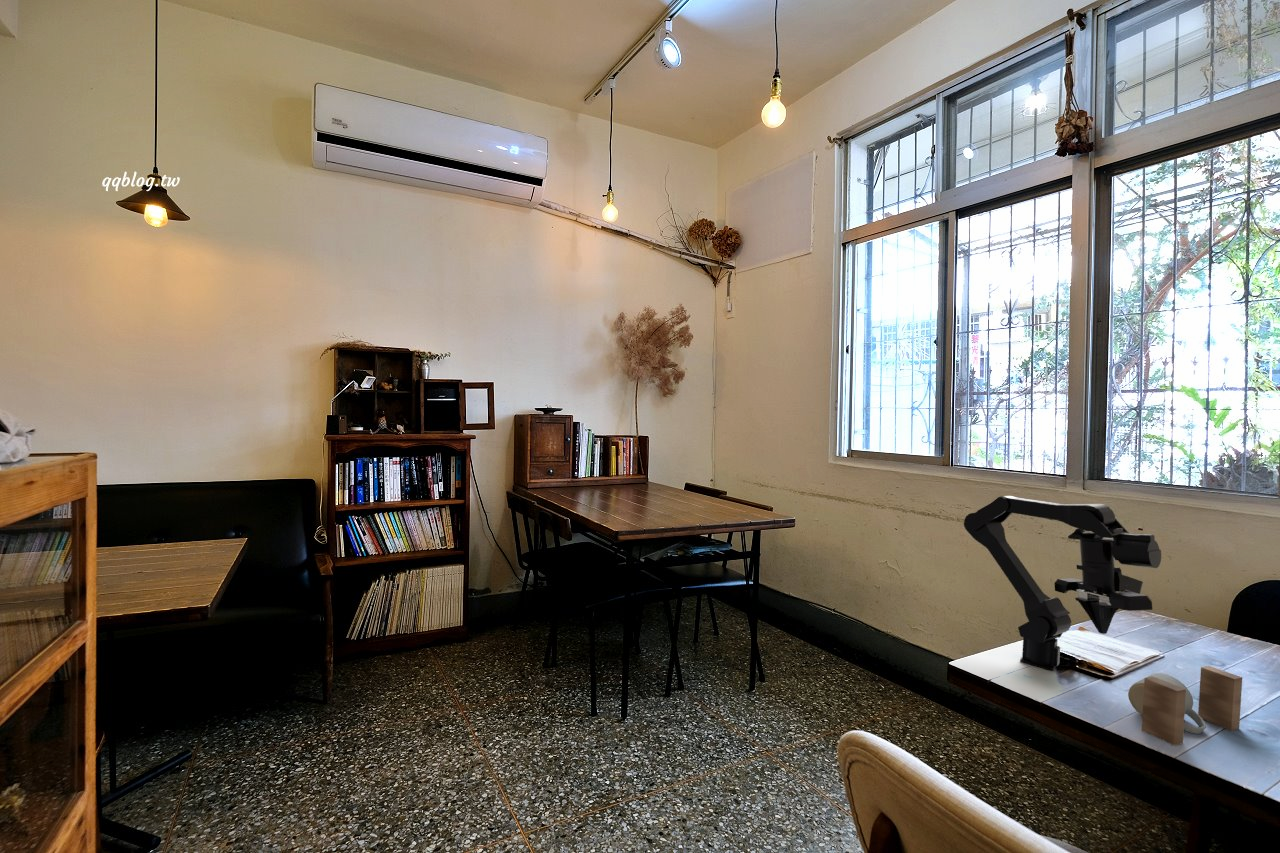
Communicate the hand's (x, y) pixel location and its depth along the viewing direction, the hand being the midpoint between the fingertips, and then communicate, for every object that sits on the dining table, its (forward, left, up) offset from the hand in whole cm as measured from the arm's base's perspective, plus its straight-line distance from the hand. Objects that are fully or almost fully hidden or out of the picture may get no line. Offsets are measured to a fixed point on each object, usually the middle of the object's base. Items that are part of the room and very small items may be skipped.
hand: (1102, 633), depth 123 cm
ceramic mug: (+11, -7, -12) cm, 18 cm away
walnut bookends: (+14, -9, -12) cm, 21 cm away
